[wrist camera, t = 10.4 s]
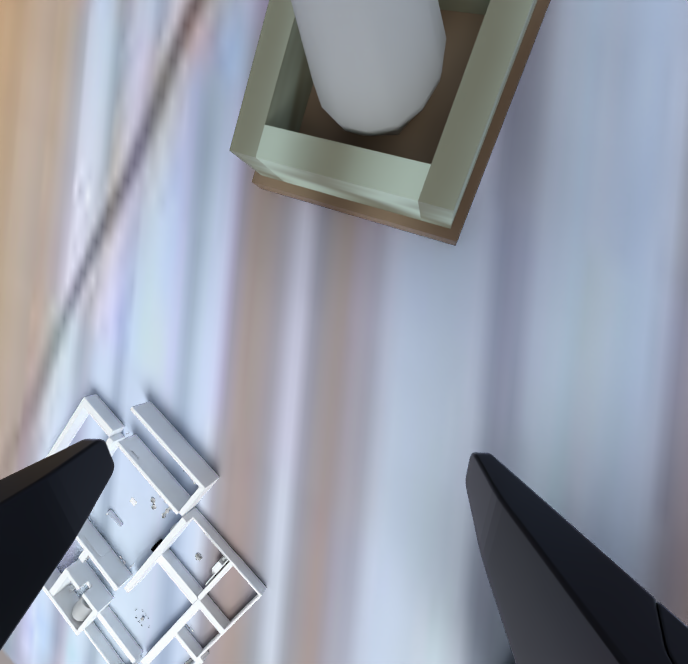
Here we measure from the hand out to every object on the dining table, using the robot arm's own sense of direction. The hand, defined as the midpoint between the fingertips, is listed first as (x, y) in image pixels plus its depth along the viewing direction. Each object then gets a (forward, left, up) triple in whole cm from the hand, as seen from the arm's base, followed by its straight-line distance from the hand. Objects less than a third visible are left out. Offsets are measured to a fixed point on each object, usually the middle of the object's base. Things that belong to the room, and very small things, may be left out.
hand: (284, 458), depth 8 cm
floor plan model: (+15, +18, -12) cm, 26 cm away
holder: (+4, -14, -11) cm, 18 cm away
